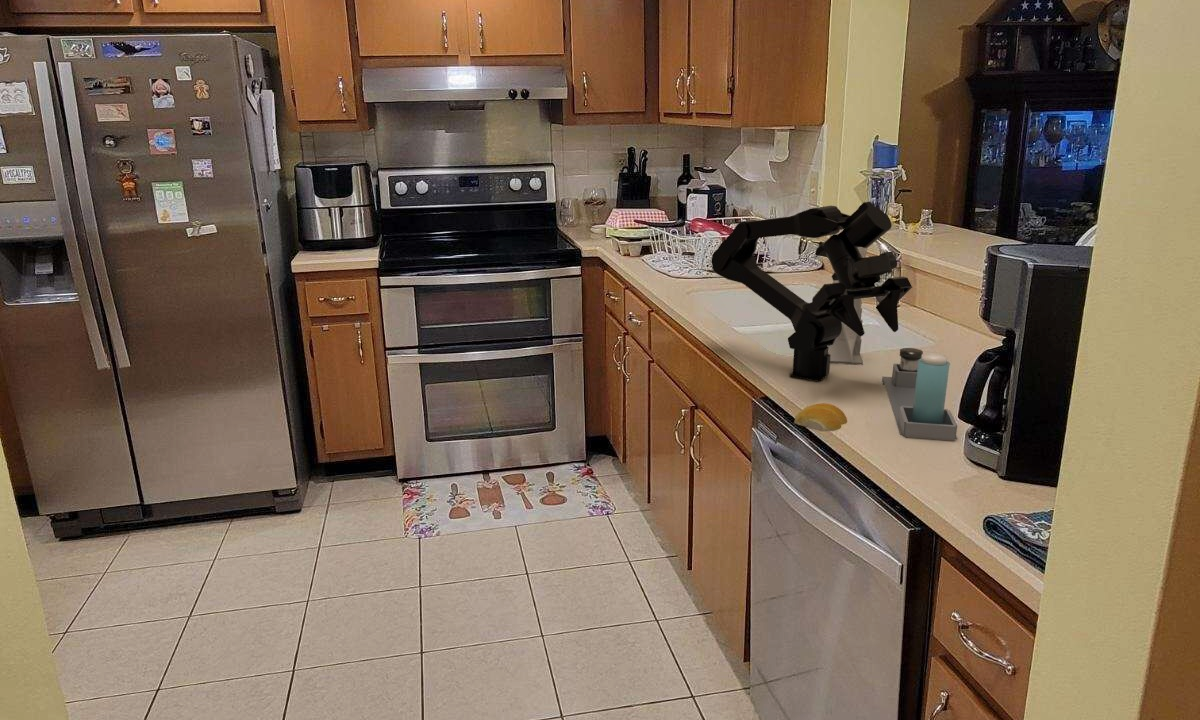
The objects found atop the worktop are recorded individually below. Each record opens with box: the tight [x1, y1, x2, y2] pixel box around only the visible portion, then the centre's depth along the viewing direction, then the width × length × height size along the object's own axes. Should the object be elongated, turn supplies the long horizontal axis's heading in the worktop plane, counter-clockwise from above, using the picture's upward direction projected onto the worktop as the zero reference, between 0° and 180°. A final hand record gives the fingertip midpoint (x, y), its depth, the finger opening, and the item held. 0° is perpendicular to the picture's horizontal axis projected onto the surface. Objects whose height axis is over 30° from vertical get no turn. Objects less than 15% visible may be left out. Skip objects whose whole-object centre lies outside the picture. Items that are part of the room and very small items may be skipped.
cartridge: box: [912, 352, 951, 424], centre depth 138 cm, size 5×5×13 cm
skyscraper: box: [828, 247, 869, 366], centre depth 177 cm, size 8×8×28 cm
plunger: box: [899, 347, 924, 372], centre depth 162 cm, size 4×4×6 cm
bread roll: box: [794, 402, 848, 432], centre depth 145 cm, size 8×9×4 cm
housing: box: [881, 362, 958, 442], centre depth 151 cm, size 32×9×4 cm, turn 167°
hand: (879, 332), depth 152 cm, fingers open, 7 cm apart
